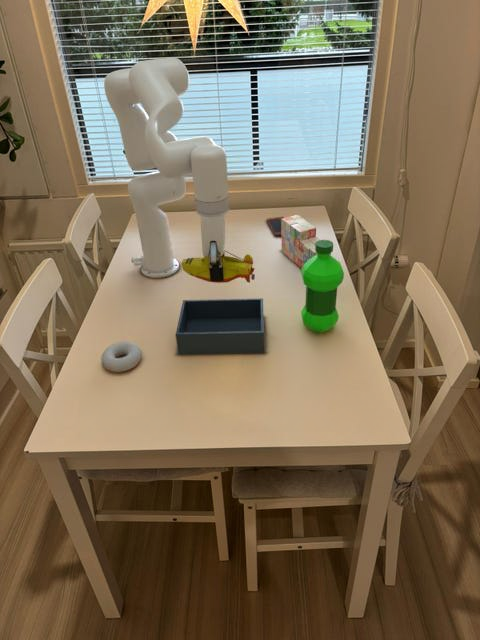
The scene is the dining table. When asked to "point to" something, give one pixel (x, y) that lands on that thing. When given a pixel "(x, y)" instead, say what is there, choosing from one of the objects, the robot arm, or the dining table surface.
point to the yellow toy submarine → (230, 267)
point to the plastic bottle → (321, 288)
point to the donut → (121, 363)
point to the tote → (221, 326)
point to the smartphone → (275, 225)
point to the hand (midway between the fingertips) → (218, 272)
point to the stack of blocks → (298, 239)
